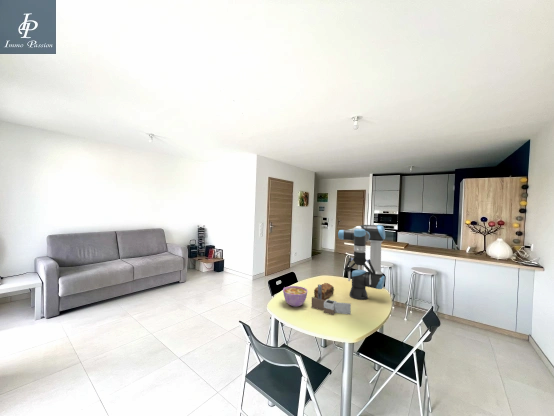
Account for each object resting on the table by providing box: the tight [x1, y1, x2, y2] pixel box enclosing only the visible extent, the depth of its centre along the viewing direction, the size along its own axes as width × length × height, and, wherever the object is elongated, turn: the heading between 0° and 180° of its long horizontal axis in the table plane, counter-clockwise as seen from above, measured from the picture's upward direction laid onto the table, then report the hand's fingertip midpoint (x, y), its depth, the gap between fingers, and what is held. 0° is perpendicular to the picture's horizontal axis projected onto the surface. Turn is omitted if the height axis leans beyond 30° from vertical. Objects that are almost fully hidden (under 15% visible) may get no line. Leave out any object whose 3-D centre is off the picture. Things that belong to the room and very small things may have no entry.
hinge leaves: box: [311, 297, 352, 316], centre depth 162 cm, size 9×29×8 cm, turn 58°
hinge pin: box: [317, 284, 322, 299], centre depth 176 cm, size 3×3×15 cm
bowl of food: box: [282, 285, 309, 308], centre depth 174 cm, size 20×20×12 cm
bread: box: [313, 282, 335, 300], centre depth 192 cm, size 19×11×10 cm, turn 138°
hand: (359, 282), depth 148 cm, fingers open, 13 cm apart
